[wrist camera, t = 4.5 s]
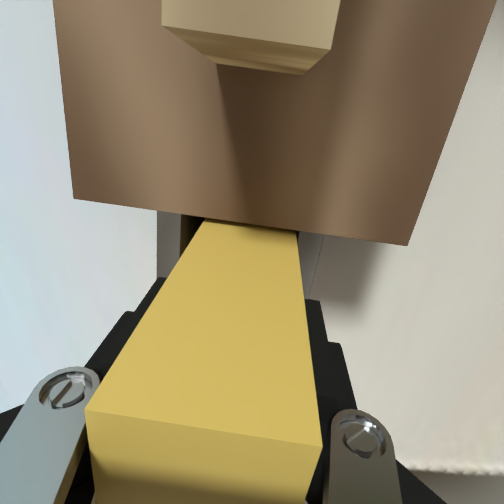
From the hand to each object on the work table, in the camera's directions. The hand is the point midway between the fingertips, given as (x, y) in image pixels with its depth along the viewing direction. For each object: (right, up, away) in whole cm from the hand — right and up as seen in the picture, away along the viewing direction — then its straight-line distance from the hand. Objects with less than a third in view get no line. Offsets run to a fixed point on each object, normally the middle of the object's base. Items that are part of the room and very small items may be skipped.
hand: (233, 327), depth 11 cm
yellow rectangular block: (+1, +5, +10) cm, 11 cm away
